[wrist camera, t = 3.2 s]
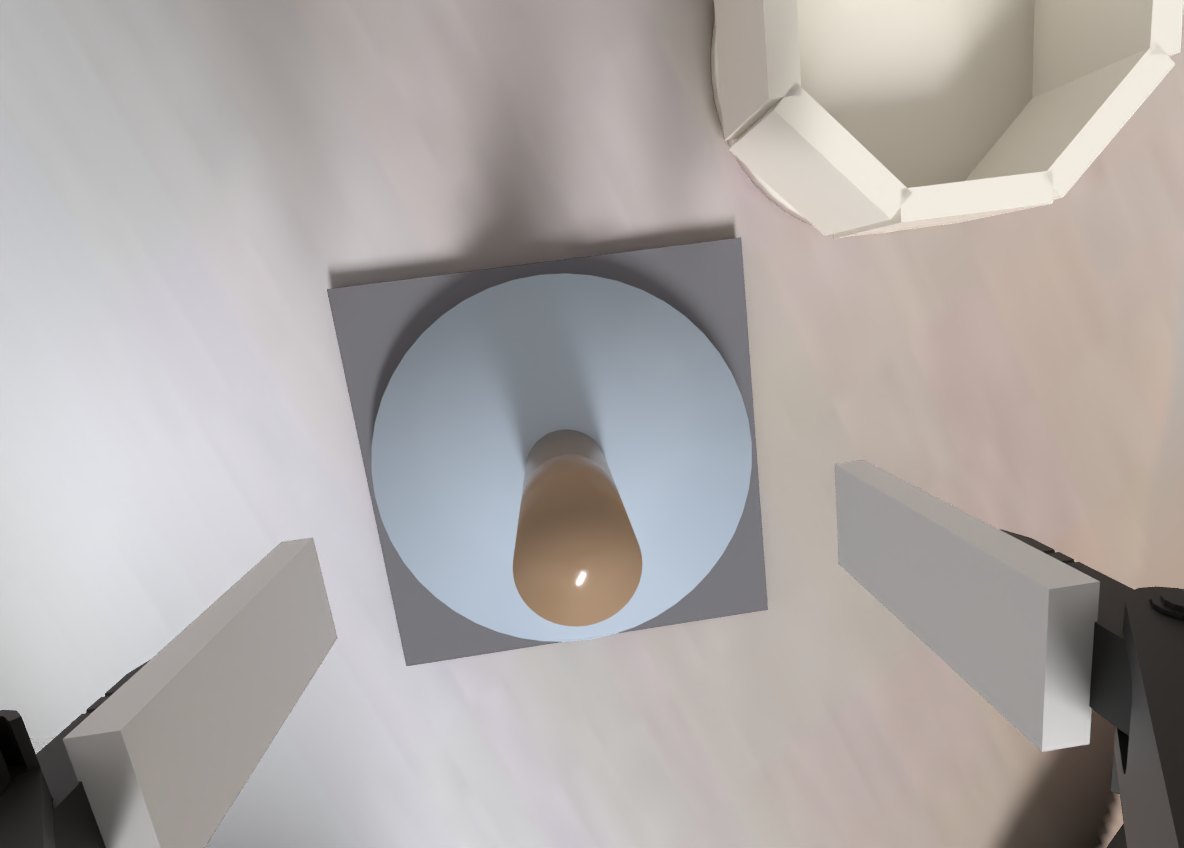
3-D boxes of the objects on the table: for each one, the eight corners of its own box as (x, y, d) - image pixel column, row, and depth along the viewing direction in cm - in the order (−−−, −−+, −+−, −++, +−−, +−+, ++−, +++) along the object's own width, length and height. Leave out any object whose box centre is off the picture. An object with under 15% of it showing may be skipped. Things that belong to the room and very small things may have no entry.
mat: (409, 658, 26) (406, 666, 26) (332, 289, 23) (326, 289, 22) (762, 602, 27) (767, 609, 26) (736, 239, 24) (741, 237, 23)
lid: (416, 653, 26) (335, 869, 16) (343, 300, 22) (186, 296, 13) (755, 601, 26) (880, 775, 16) (729, 252, 23) (863, 213, 13)
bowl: (725, 253, 24) (776, 238, 18) (696, -121, 21) (746, -267, 16) (1033, 214, 24) (1170, 188, 19) (1042, -154, 22) (1204, -305, 16)
